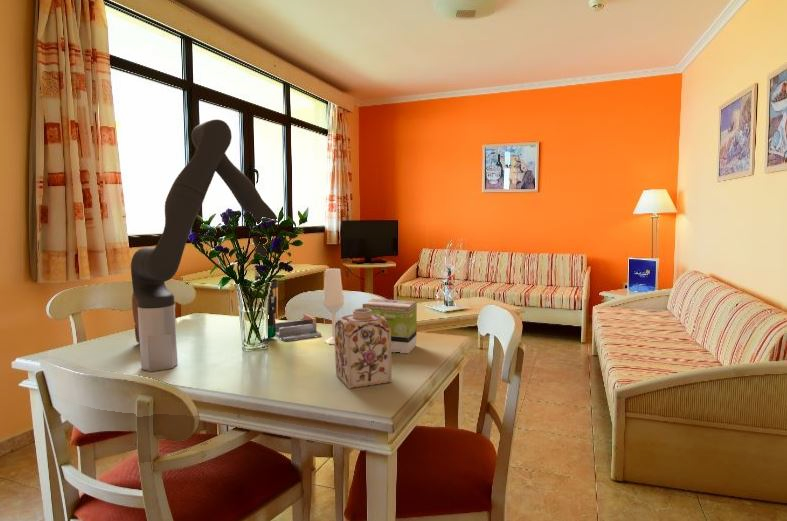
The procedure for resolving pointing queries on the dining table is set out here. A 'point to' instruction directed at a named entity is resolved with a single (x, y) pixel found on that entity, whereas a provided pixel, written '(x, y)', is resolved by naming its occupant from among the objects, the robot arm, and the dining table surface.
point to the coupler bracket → (297, 329)
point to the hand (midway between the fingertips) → (267, 324)
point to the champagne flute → (333, 296)
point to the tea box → (398, 321)
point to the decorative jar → (363, 349)
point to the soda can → (272, 329)
